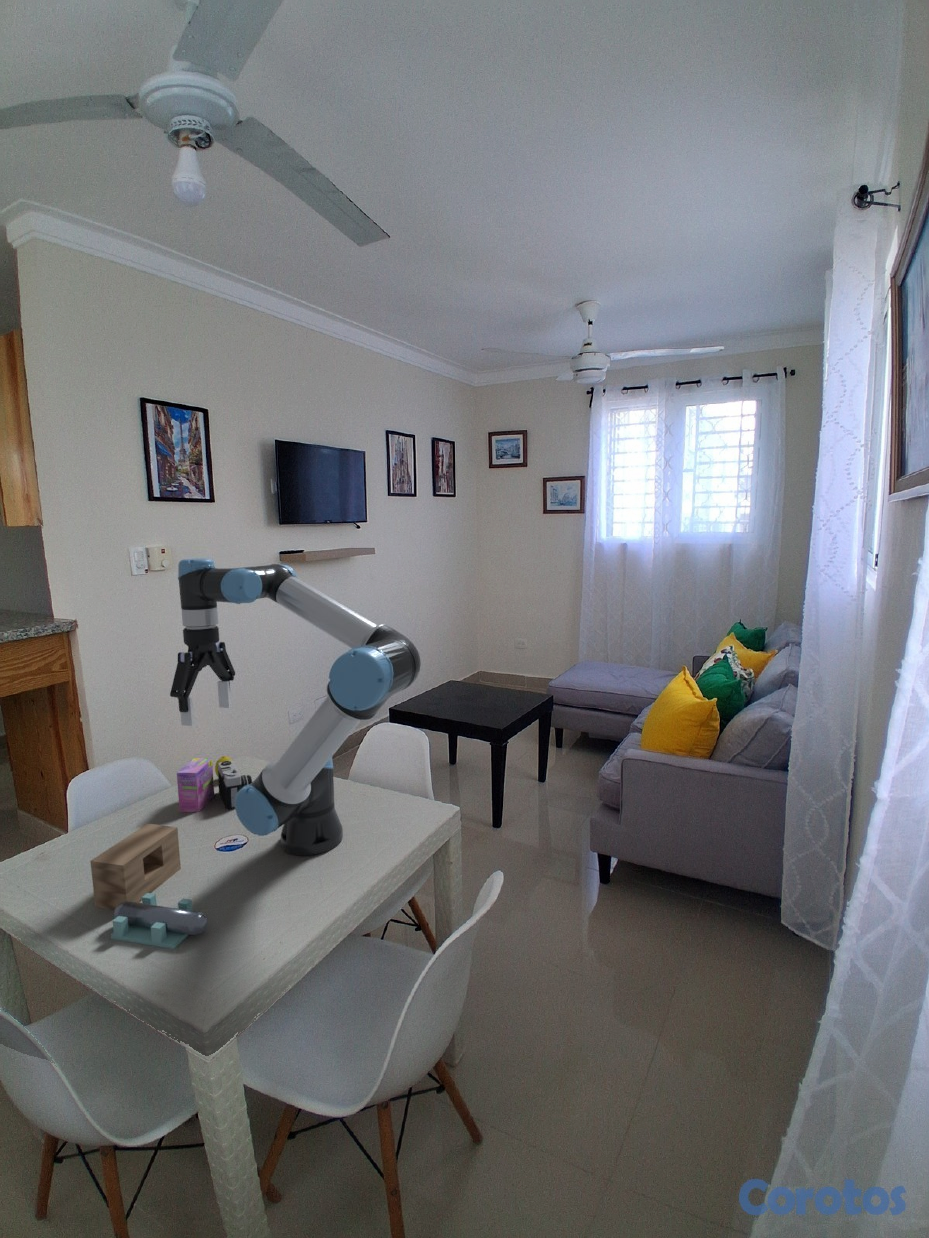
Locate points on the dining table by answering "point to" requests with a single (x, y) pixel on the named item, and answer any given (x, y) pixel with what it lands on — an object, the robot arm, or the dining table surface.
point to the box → (195, 785)
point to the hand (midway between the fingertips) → (207, 715)
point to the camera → (230, 782)
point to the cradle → (150, 935)
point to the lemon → (221, 761)
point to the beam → (135, 866)
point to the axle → (162, 917)
